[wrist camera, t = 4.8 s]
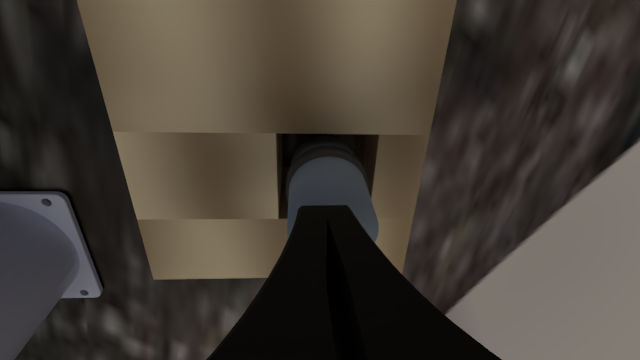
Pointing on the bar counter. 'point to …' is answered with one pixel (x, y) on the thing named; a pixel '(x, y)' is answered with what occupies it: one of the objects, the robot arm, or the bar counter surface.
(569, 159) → the bar counter surface
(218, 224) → the beech block
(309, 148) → the blue peg
